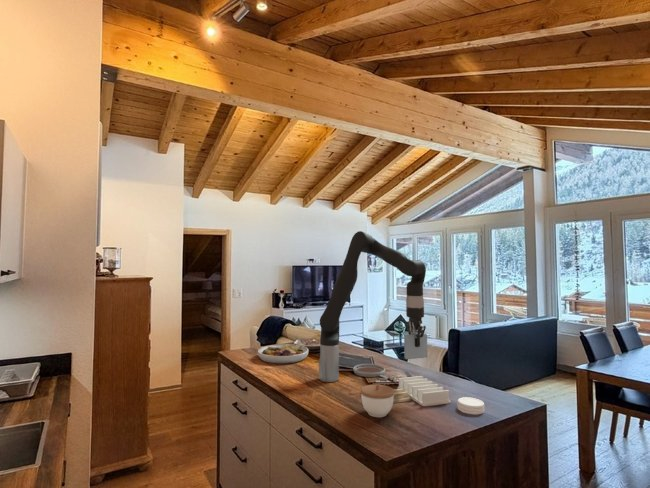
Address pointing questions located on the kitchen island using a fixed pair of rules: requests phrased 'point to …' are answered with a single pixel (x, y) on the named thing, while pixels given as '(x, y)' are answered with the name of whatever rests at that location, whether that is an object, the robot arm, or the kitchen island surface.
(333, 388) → the kitchen island surface
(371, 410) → the lidded bowl
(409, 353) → the grey board
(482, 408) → the coaster
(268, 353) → the bowl
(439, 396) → the dish rack
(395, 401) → the plate stand
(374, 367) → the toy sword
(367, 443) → the kitchen island surface
